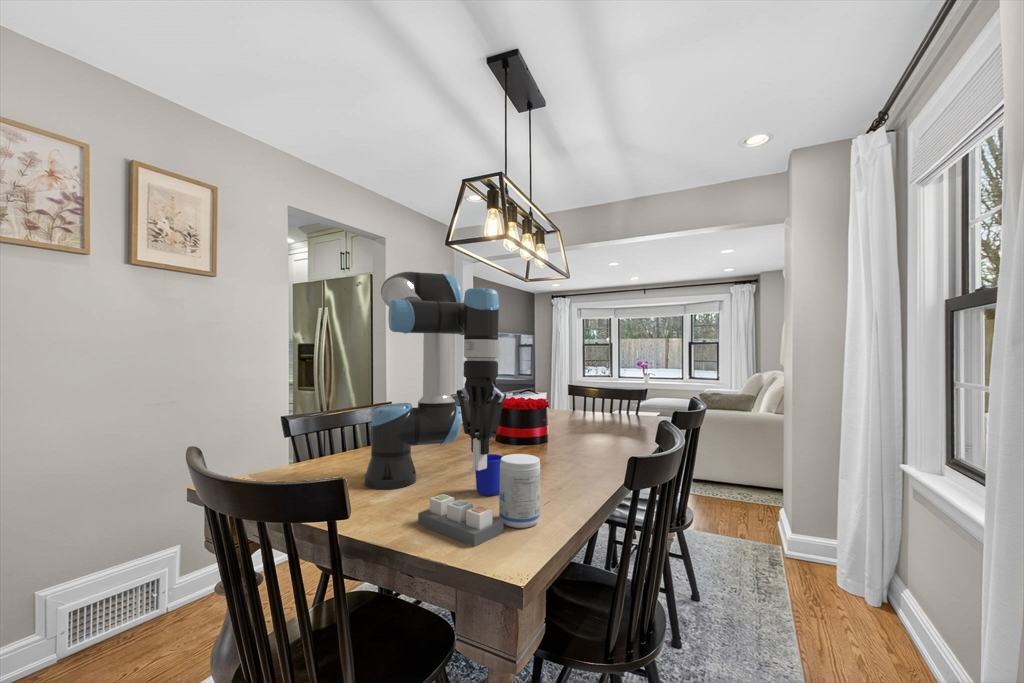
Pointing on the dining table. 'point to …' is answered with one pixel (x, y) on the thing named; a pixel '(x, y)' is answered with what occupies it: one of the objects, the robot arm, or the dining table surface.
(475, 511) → the key
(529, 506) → the supplement tub
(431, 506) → the key
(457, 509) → the key
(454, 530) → the keypad base
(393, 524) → the dining table surface
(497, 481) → the mug
